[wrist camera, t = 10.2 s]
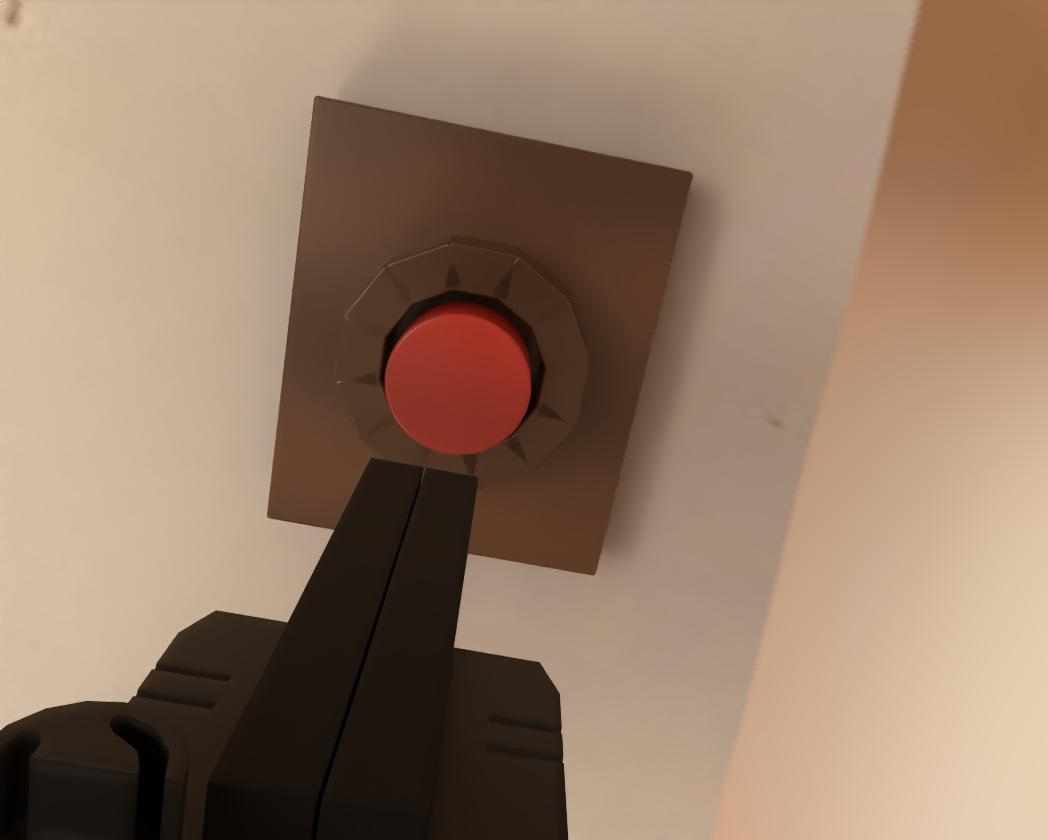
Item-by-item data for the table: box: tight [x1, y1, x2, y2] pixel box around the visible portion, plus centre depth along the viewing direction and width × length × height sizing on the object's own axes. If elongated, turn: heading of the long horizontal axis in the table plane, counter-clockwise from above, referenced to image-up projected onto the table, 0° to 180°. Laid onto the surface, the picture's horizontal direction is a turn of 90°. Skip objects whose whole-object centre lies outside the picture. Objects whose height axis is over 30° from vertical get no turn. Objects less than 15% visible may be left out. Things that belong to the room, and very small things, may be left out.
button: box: [385, 302, 531, 455], centre depth 22 cm, size 4×4×2 cm
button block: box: [267, 96, 693, 575], centre depth 24 cm, size 12×10×4 cm
